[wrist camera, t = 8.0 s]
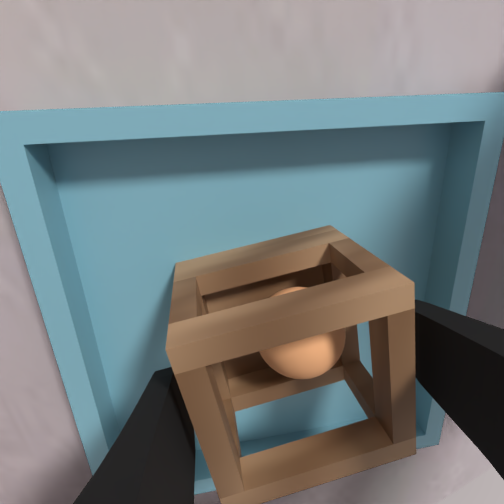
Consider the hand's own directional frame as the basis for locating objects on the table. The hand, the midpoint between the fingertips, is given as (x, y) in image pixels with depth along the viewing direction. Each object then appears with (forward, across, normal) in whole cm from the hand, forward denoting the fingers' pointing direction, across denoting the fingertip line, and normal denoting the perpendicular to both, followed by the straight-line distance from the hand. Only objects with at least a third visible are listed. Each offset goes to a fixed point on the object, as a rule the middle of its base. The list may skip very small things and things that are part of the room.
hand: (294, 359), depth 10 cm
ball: (+1, 0, 0) cm, 1 cm away
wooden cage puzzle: (+3, 0, 0) cm, 3 cm away
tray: (+4, 0, 0) cm, 4 cm away
